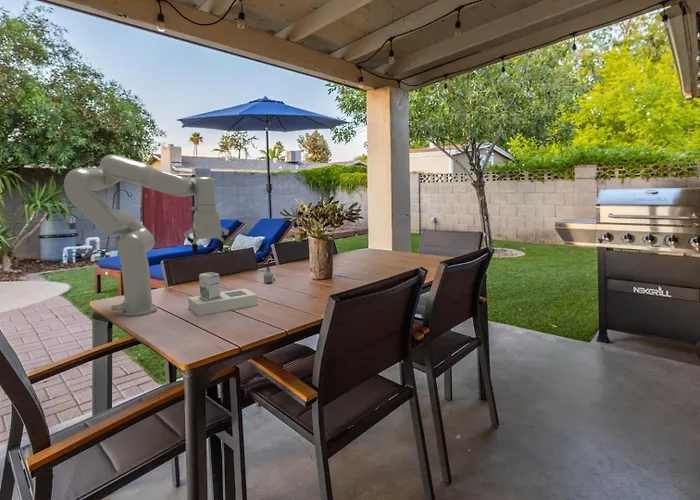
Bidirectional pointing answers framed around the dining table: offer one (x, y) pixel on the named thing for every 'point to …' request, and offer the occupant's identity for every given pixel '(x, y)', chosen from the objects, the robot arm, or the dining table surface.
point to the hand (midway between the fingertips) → (208, 252)
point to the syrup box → (209, 286)
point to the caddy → (223, 302)
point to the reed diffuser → (267, 269)
